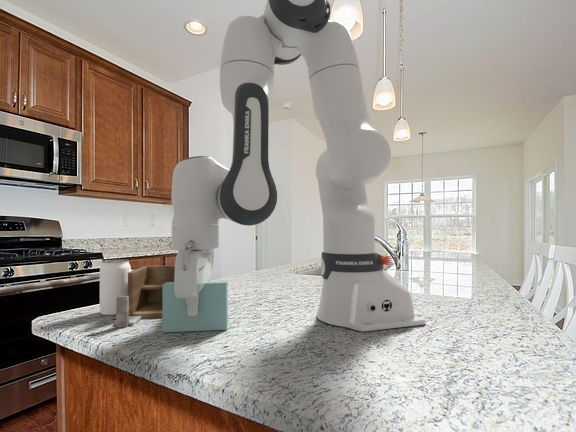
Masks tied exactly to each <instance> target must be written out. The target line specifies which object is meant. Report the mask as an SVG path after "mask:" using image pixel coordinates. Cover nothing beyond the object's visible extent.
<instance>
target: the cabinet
mask: <svg viewBox="0 0 576 432" xmlns="http://www.w3.org/2000/svg"><path fill="white" fill-rule="evenodd" d="M174 276H175V264H174V265H169V264H168V265H143V266H141V267H138V268H136V269H134V270H131V272H129V273H128V296H118V297H117V308H116V315H115V317H116V321H114V322H113V323H112V324H113V327H116V328H128V327H129V326H135V325H136V324H137V323H138V322H140V321H141V320H142V319H156V318H157V319H159V318H160V319H162V306H163V284H164V283H166V282H174ZM140 319H141V320H140ZM139 320H140V321H139ZM134 324H135V325H134ZM128 325H129V326H128ZM127 326H128V327H127Z"/></svg>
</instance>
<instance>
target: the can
mask: <svg viewBox="0 0 576 432" xmlns="http://www.w3.org/2000/svg"><path fill="white" fill-rule="evenodd" d="M129 261H130V260H129V259H120V258H119V259H107V260H106V259H105V260H102V261H101V265H100V268H99V313H100V314H101V316H110V317H111V316H116V308H117V297H118V296H128V273H129V272H131V271H132V268H131V267H132V266H131V264H130V263H129Z"/></svg>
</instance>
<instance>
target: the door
mask: <svg viewBox="0 0 576 432" xmlns="http://www.w3.org/2000/svg"><path fill="white" fill-rule="evenodd" d="M228 281H229V280H228V279H227V280H208V281H206V282H205V283H204V287H203V288H202V289H201V291H200V292H199V293H198V304H199V312H198V313H197V315H195V316H189V315H188V307H187V303H186V299H185V298H176V296H175V293H174V282H166V283H164V284H163V306H162V318H161V319H162V323H161V326H162V327H161V328H162V329H161V330H162V331H161V333H176V332H177V333H178V332H179V333H180V332H182V333H183V332H206V331H226V330H227V329H228V326H229V306H228V305H229V299H228V298H229V297H228V296H229V295H228V294H229V284H228Z"/></svg>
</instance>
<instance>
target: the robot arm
mask: <svg viewBox="0 0 576 432" xmlns="http://www.w3.org/2000/svg"><path fill="white" fill-rule="evenodd" d="M264 7H265V8H264V12H263V14H262V15H261V16H258V17H255V16H253V15H242V16H238V17H236V18H234V19H233V20H232V21H231V22H230V23H229V24H228V26H227V30H226V33H225V37H224V40H223V44H222V50H221V57H220V66H219V67H220V69H219V88H220V89H219V91H220V98H221V99H220V100H221V103H222V105H223V107H224V108H225V109H226V110H227V111H228V112H229V113H230V114H231V115H232V116H231V117H232V120H233V121H232V123H233V129H232V130H233V131H232V132H233V133H232V135H233V136H232V138H233V139H232V160H231V165H230V168H227V167H226V166H224V165H222V164H221V163H220V162H218V161H216V160H215V158H214V157H211V156H207V155H206V156H205V155H200V156H199V155H197V156H191V157H187V158H184V159H182V160H180V161H179V162H178V163H177V164H176V165H175V167H174V169H173V174H172V178H171V179H172V181H171V205H172V210H173V217H172V220H171V249H172V250H175V251H178V253H177V254H176V256H175V262H174V265H175V276H174V293H175V296H176V298H185V299H186V303H187V307H188V315H189V316H195V315H197V313H198V312H199V304H198V293H199V292H200V291H201V289H202V288H203V287H204V283H205V282H206V281H210V279H211V278H212V275H213V270H214V269H213V268H214V267H213V266H214V257H215V256H214V255H215V250H216V249H219V243H220V242H219V240H220V239H219V221H220V220H221V219H226V220H228V221H230V222H233V223H236V224H239V225H243V226H250V227H251V226H256V225H259V224H261V223H263V222H265V221H266V220H267V219H269V218H270V216H271V215H272V214H273V212H274V211H275V208H276V206H277V203H278V190H277V186H276V183H275V180H274V178H273V175H272V172H271V169H270V162H269V124H270V123H269V122H270V121H269V118H270V117H269V115H270V114H269V113H270V107H271V103H272V102H271V101H272V97H273V89H274V79H275V77H274V75H275V65H279V66H281V65H282V66H283V65H290V64H293V63H295V62H296V61H297V60H298V59H299V58H300V57H301V56H302V57H303V59H304V62H305V64H306V67H307V70H308V72H307V73H308V80H309V88H310V93H311V99H312V104H313V105H312V107H313V112H314V113H313V114H314V117H315V119H316V120H317V121H318V123H319V125H320V127H321V130H322V133H323V135H324V139H325V143H326V149H324V151H322V153H321V154H320V155H319V157H318V160H317V162H316V165H315V175H316V178H317V183H318V191H319V198H320V204H321V210H322V222H323V223H322V224H323V225H322V229H323V231H322V233H323V235H322V236H323V243H322V244H323V251H322V252H321V258H320V275H321V277H322V284H321V293H320V299H319V305H318V308H317V309H318V310H317V312H316V318H317V319H318V320H319V321H320V322H323V323H326V324H329V325H333V326H336V327H337V326H338V327H342V328H348V329H351V330H354V331H358V332H373V331H379V330H386V329H387V330H388V329H397V328H404V327H405V328H407V327H414V326H422V325H425V324H426V317H425V315H424V314H423V313H422V312H420V311H419V310H417V309H415V308H414V303H413V299H412V294H411V293H410V291H409V289H408V288H407V287H406V286H405V285H404V284H403V283H401V282H400V281H398V280H397V279H395V278H394V277H393V276H392V275H391V274H390V273H388V272H387V271H386V270H384V265H385V266H391V264H392V263H393V258H392V257H391V256H390V255H387V254H386V255H385V254H384V255H381V254H380V253H378V252H376V233H375V232H376V229H375V226H376V225H375V224H376V221H375V215H374V212H373V211H372V210H371V209H372V208H371V207H370V205H369V201H368V197H367V192H366V185H368V184H371V183H373V182H374V181H376V180H377V179H378V178H379V177H380V176H381V175H382V174H383V173H384V172H385V171H386V169H387V168H388V167H389V165H390V163H391V162H390V161H391V157H392V152H391V148H390V147H391V146H390V144H389V142H388V139H387V138H386V137H385V136H384V135H383V134H382V133H380V132H379V131H378V130H377V128H376V127H375V124H374V121H373V120H372V117H371V115H370V112H369V110H368V107H367V103H366V100H365V99H366V98H365V94H364V87H363V82H362V75H361V68H360V63H359V59H358V58H359V57H358V54H357V51H356V46H355V42H354V41H353V38H352V34H351V32H350V31H349V30H350V29H349V28H348V27H347V26H346V25H345V24H344V23H342V22H340V21H335V20H330V17H331V4H330V3H329V1H328V0H266V4H265V6H264Z"/></svg>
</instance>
